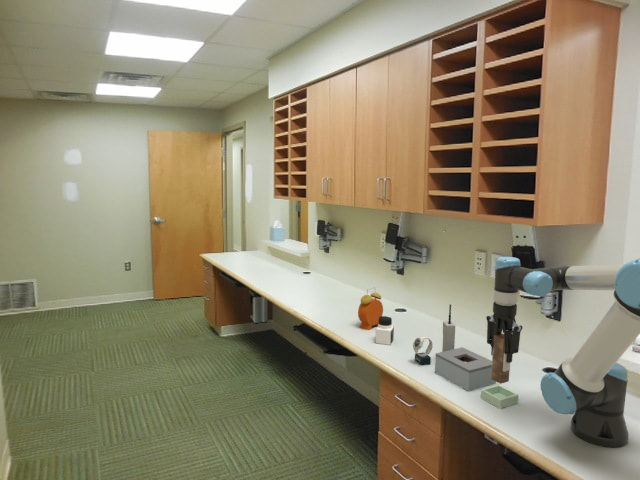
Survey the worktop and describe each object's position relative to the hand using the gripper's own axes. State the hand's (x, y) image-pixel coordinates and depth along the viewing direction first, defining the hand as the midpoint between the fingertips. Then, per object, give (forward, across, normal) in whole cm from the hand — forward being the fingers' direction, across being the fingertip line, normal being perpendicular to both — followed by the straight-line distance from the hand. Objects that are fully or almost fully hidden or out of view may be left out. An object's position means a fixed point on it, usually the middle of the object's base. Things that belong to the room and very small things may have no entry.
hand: (500, 367), depth 165 cm
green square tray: (+12, 0, 0) cm, 12 cm away
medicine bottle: (+13, +65, +2) cm, 66 cm away
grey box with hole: (+12, +19, -2) cm, 22 cm away
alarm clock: (+13, +86, -4) cm, 87 cm away
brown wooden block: (+5, 0, 0) cm, 5 cm away
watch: (+12, +38, +2) cm, 40 cm away
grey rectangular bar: (+12, +34, -8) cm, 37 cm away
